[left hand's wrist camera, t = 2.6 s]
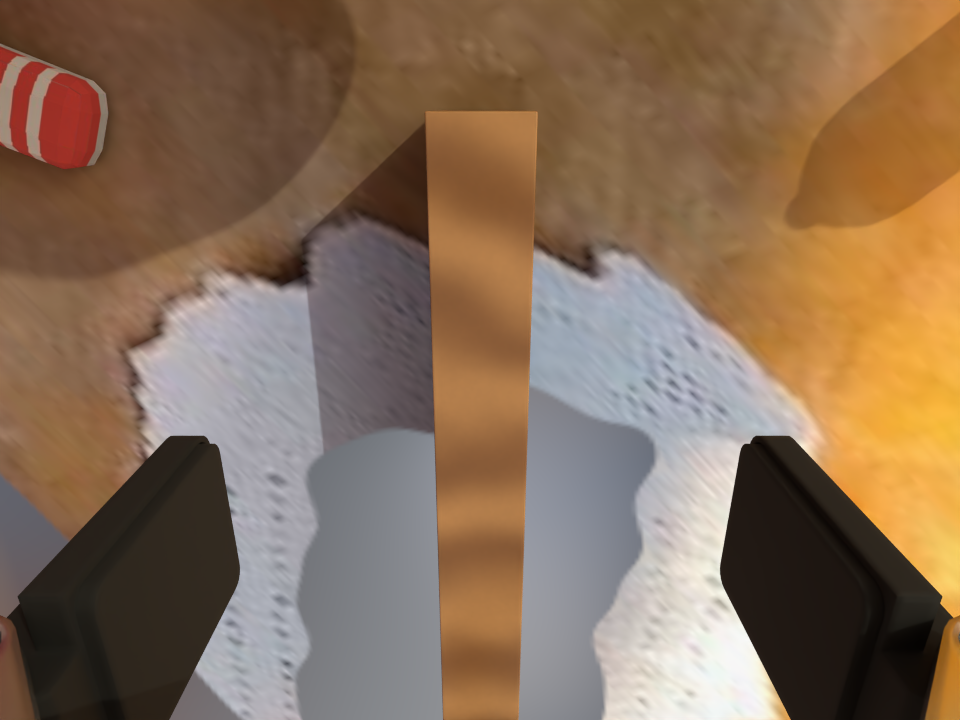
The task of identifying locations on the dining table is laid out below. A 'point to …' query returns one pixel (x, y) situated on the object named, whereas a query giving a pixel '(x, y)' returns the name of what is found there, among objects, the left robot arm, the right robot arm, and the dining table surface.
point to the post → (481, 395)
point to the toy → (50, 111)
